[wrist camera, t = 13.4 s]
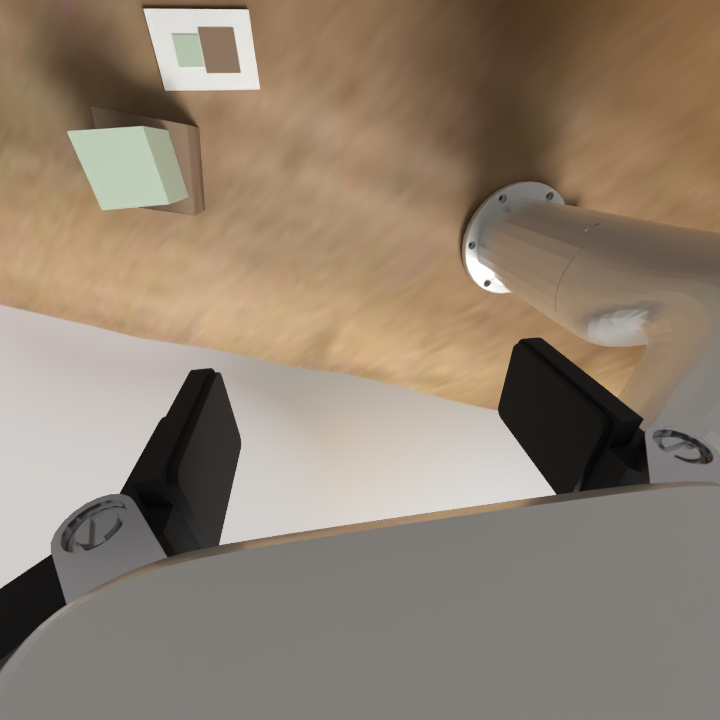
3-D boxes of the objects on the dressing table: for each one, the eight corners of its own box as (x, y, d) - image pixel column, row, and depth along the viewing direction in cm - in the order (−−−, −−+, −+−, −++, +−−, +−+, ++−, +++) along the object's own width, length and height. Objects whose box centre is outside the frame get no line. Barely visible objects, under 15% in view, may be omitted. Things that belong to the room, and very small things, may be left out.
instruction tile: (248, 10, 27) (247, 9, 27) (260, 89, 30) (259, 89, 29) (144, 9, 26) (142, 8, 26) (166, 91, 29) (164, 90, 28)
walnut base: (200, 127, 31) (186, 124, 27) (205, 209, 34) (194, 215, 31) (114, 111, 29) (90, 105, 26) (129, 198, 33) (109, 203, 29)
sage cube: (168, 130, 27) (142, 125, 23) (188, 197, 30) (169, 204, 26) (104, 134, 27) (66, 131, 23) (131, 202, 30) (101, 210, 25)
